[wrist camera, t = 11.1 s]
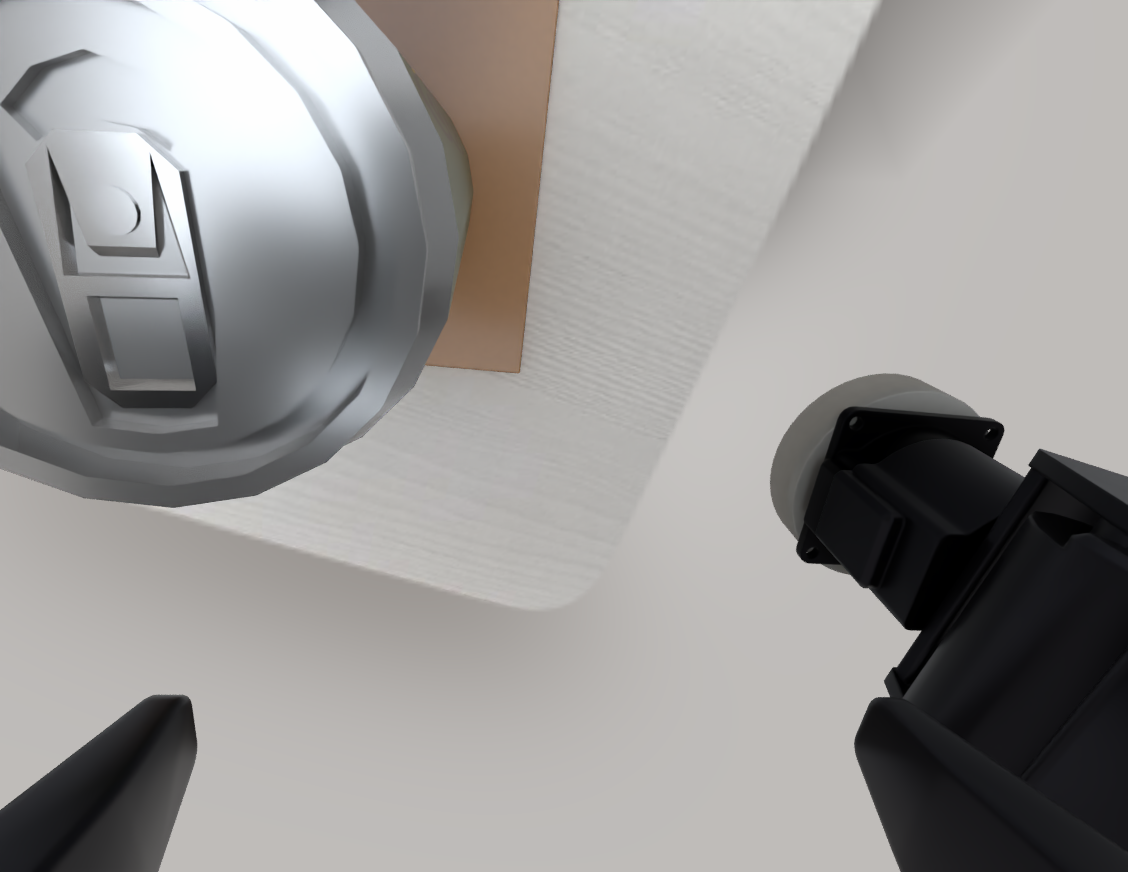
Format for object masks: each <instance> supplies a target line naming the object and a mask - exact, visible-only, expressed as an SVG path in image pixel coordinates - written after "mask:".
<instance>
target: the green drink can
mask: <svg viewBox="0 0 1128 872" xmlns="http://www.w3.org/2000/svg"><path fill="white" fill-rule="evenodd" d="M473 192H474V190H473V184H472V178H471V171H470V165H469V159H468V154H467V152H466V149H465V147H464V145H463V143H462V141H461V139H460V137H459V135H458V132H457V130H456V128H455V126H454V124H453V122H452V120H451V118H450V117H449V115H448V114H447V113H446V112H445V110H444V109H443V108H442V106H441V105H440V104H439V103H438V101H437V100H436V99H435V97H434V96H433V95H432V94H431V92H430V91H429V90H428V88H427V87H426V86H425V84H424V83H423V82H422V81H421V79H420V78H419V77H418V75H417V74H416V73H415V72H414V70H413V69H412V68H411V66H410V65H409V64H408V63H407V61H406V60H405V59H404V57H403V56H402V55H401V53H400V52H399V51H398V50H397V48H396V47H395V46H394V45H393V44H392V43H391V41H390V40H389V39H388V38H387V37H386V36H385V35H384V33H383V32H382V31H381V30H380V29H379V28H378V27H377V25H376V24H375V23H374V22H373V21H372V20H371V19H370V17H369V16H368V15H367V14H366V13H365V12H364V11H363V10H362V8H361V7H360V6H359V5H358V4H357V3H356V2H355V0H0V469H3V470H6V471H9V472H11V473H14V474H17V475H20V476H23V477H26V478H28V479H31V480H34V481H37V482H40V483H42V484H45V485H48V486H51V487H54V488H57V489H60V490H62V491H65V492H68V493H71V494H74V495H77V496H79V497H82V498H89V499H97V500H107V501H116V502H125V503H134V504H144V505H153V506H162V507H171V508H176V507H182V506H189V505H196V504H202V503H209V502H216V501H222V500H229V499H236V498H242V497H249V496H255V495H258V494H260V493H262V492H264V491H267V490H269V489H271V488H273V487H275V486H277V485H279V484H281V483H283V482H286V481H288V480H290V479H292V478H294V477H296V476H298V475H300V474H302V473H304V472H307V471H309V470H311V469H313V468H315V467H317V466H319V465H321V464H323V463H326V462H327V461H328V460H329V459H330V458H331V457H332V456H333V455H334V454H335V453H336V452H337V451H339V450H340V449H341V448H342V447H343V446H344V445H346V444H349V443H351V442H353V441H355V440H357V439H359V438H361V437H363V436H364V435H365V434H366V433H367V432H368V431H369V430H370V429H371V428H372V427H373V426H374V425H375V424H376V423H377V422H378V421H379V420H380V419H381V418H382V417H383V416H384V415H385V414H386V413H387V412H388V411H389V410H390V409H391V408H393V407H394V406H395V405H396V404H397V403H398V402H399V401H400V400H401V399H402V398H403V397H404V396H405V395H406V394H407V393H408V392H409V391H410V390H411V389H412V388H413V387H414V386H415V384H416V382H417V380H418V378H419V376H420V374H421V372H422V370H423V368H424V366H425V364H426V362H427V360H428V358H429V356H430V354H431V352H432V350H433V348H434V346H435V344H436V342H437V340H438V338H439V336H440V334H441V332H442V330H443V328H444V326H445V324H446V322H447V320H448V316H449V311H450V307H451V302H452V298H453V294H454V289H455V285H456V280H457V276H458V271H459V267H460V262H461V258H462V254H463V249H464V245H465V240H466V236H467V231H468V227H469V221H470V213H471V206H472V199H473Z"/></svg>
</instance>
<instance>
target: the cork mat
mask: <svg viewBox="0 0 1128 872" xmlns="http://www.w3.org/2000/svg"><path fill="white" fill-rule="evenodd" d="M355 2H356V3H357V4H358V5H359V6H360V7H361V8H362V10H363V11H364V12H365V13H366V14H367V15H368V16H369V17H370V19H371V20H372V21H373V22H374V23H375V24H376V25H377V27H378V28H379V29H380V30H381V31H382V32H383V33H384V35H385V36H386V37H387V38H388V39H389V40H390V41H391V43H392V44H393V45H394V46H395V47H396V48H397V50H398V51H399V52H400V53H401V55H402V56H403V57H404V59H405V60H406V61H407V63H408V64H409V65H410V66H411V68H412V69H413V70H414V72H415V73H416V74H417V75H418V77H419V78H420V79H421V81H422V82H423V83H424V84H425V86H426V87H427V88H428V90H429V91H430V92H431V94H432V95H433V96H434V97H435V99H436V100H437V101H438V103H439V104H440V105H441V106H442V108H443V109H444V110H445V112H446V113H447V114H448V115H449V117H450V118H451V120H452V122H453V124H454V126H455V128H456V130H457V132H458V135H459V137H460V139H461V141H462V143H463V145H464V147H465V149H466V152H467V154H468V159H469V165H470V171H471V178H472V184H473V190H474V192H473V199H472V206H471V213H470V221H469V227H468V231H467V236H466V240H465V245H464V249H463V254H462V258H461V262H460V267H459V271H458V276H457V280H456V285H455V289H454V294H453V298H452V302H451V307H450V311H449V316H448V320H447V322H446V324H445V326H444V328H443V330H442V332H441V334H440V336H439V338H438V340H437V342H436V344H435V346H434V348H433V350H432V352H431V354H430V356H429V358H428V360H427V362H426V364H425V365H429V366H440V367H452V368H463V369H475V370H486V371H498V372H509V373H520V366H521V357H522V347H523V338H524V328H525V319H526V309H527V300H528V290H529V281H530V272H531V262H532V253H533V243H534V234H535V224H536V215H537V205H538V196H539V186H540V177H541V167H542V158H543V148H544V139H545V129H546V120H547V110H548V101H549V91H550V82H551V72H552V63H553V53H554V44H555V34H556V25H557V15H558V6H559V0H355Z"/></svg>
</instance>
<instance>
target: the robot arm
mask: <svg viewBox="0 0 1128 872" xmlns="http://www.w3.org/2000/svg"><path fill="white" fill-rule="evenodd" d="M855 417H857V420H856V422H855V423H854V424H853V425H850V422H851V420H852V419H853V418H855ZM989 429H990V431H989V432H988V434H986V432H987V431H988V430H989ZM1004 431H1005V430H1004V426H1003V425H1002V424H1001V423H1000V422H998V421H996V420H994V419H991V418H986V417H975V416H963V415H951V414H940V413H928V412H916V411H905V410H893V409H881V408H870V407H858V406H852V407H848V408H846V409H844V410H843V411H842V412H841V413H840V415H839V417H838V419H837V422H836V425H835V428H834V431H833V434H832V437H831V441H830V444H829V447H828V450H827V453H826V456H825V459H824V462H823V463H822V464H821V466H820V469H819V472H818V476H817V479H816V482H815V485H814V488H813V491H812V494H811V497H810V500H809V504H808V507H807V510H806V513H805V516H804V524H803V527H802V530H801V533H800V537H799V540H798V543H797V546H796V552H797V555H798V556H799V557H800V558H801V560H802V561H804V562H805V563H809V564H831V565H842V566H843V567H844V568H845V569H846V570H847V571H848V573H849V574H850V575H851V576H852V577H853V578H854V579H855V580H856V581H857V583H858V584H859V585H860V586H861V587H863V588H869V589H870V590H871V591H872V592H873V593H874V594H875V596H876V597H877V598H878V599H879V600H880V601H881V602H882V603H883V604H884V605H885V607H886V608H887V609H888V610H889V611H890V612H891V613H892V614H893V616H894V617H895V618H896V619H897V620H898V621H899V622H900V623H901V624H902V626H903V627H904V628H905V629H907V630H917V631H918V630H919V631H920V630H921V633H920V634H919V636H918V637H917V639H916V640H915V642H914V643H913V644H912V646H911V647H910V649H909V650H908V652H907V653H906V655H905V656H904V658H903V659H902V661H901V662H900V664H899V665H898V667H893V668H892V669H891V671H890V672H889V674H888V675H887V677H886V678H885V680H884V683H885V685H886V688H887V690H888V693H889V695H890V697H878V698H875V699H873V700H872V701H871V702H870V704H869V706H868V708H867V711H866V713H865V715H864V717H863V720H862V722H861V725H860V727H859V729H858V731H857V734H856V737H855V742H854V745H855V753H856V757H857V760H858V763H859V765H860V768H861V771H862V773H863V776H864V779H865V781H866V784H867V786H868V789H869V791H870V794H871V797H872V799H873V802H874V805H875V807H876V810H877V812H878V815H879V818H880V820H881V823H882V826H883V828H884V831H885V833H886V836H887V839H888V841H889V844H890V846H891V849H892V852H893V854H894V856H895V859H896V862H897V864H898V866H899V869H900V871H901V872H1128V477H1127V476H1124V475H1120V474H1118V473H1114V472H1111V471H1108V470H1105V469H1102V468H1099V467H1096V466H1093V465H1089V464H1086V463H1083V462H1080V461H1077V460H1074V459H1071V458H1068V457H1064V456H1061V455H1058V454H1055V453H1052V452H1048V451H1045V450H1043V449H1039V450H1038V451H1037V453H1036V455H1035V456H1034V457H1033V459H1032V461H1031V462H1030V463H1029V466H1030V467H1031V469H1030V471H1029V472H1028V474H1027V475H1026V477H1023V476H1021V475H1020V474H1018V473H1016V472H1015V471H1013V470H1011V469H1009V468H1008V467H1006V466H1004V465H1003V464H1001V463H999V462H998V461H996V460H994V459H993V458H994V455H995V453H996V451H997V449H998V446H999V444H1000V442H1001V440H1002V437H1003V435H1004ZM985 434H986V435H985ZM810 548H813V550H812V551H810V552H807V551H808V550H809V549H810ZM196 754H197V738H196V731H195V724H194V717H193V710H192V704H191V701H190V699H189V698H188V697H187V696H184V695H153V696H150V697H148V698H146V699H144V700H143V701H142V702H140V703H139V704H138V705H136V706H135V707H134V708H132V709H131V710H130V711H129V712H127V713H126V714H125V715H123V716H122V717H121V718H119V719H118V720H117V721H116V722H114V723H113V724H112V725H110V726H109V727H108V728H106V729H105V730H104V731H103V732H101V733H100V734H99V735H97V736H96V737H95V738H94V739H92V740H91V741H90V742H88V743H87V744H86V745H84V746H83V747H82V748H81V749H79V750H78V751H77V752H75V753H74V754H73V755H71V756H70V757H69V758H67V759H66V760H65V761H64V762H62V763H61V764H60V765H58V766H57V767H56V768H54V769H53V770H52V771H51V772H49V773H48V774H47V775H45V776H44V777H43V778H41V779H40V780H39V781H38V782H36V783H35V784H34V785H32V786H31V787H30V788H29V789H27V790H26V791H24V792H23V793H22V794H21V795H19V796H18V797H17V798H15V799H14V800H13V801H11V802H10V803H9V804H8V805H6V806H5V807H4V808H2V809H1V810H0V872H158V871H159V868H160V865H161V862H162V859H163V856H164V853H165V850H166V847H167V844H168V841H169V838H170V835H171V832H172V829H173V826H174V823H175V820H176V817H177V814H178V811H179V808H180V805H181V802H182V799H183V796H184V794H185V791H186V788H187V785H188V782H189V779H190V776H191V773H192V770H193V767H194V763H195V759H196Z"/></svg>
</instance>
